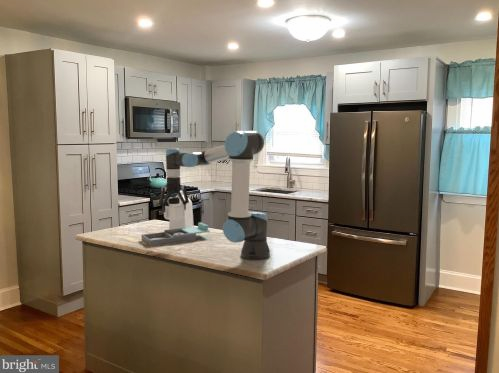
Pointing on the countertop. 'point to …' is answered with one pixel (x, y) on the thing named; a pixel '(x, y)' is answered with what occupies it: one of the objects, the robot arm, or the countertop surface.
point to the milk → (187, 218)
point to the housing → (168, 237)
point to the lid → (197, 229)
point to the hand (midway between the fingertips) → (174, 216)
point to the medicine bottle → (174, 209)
